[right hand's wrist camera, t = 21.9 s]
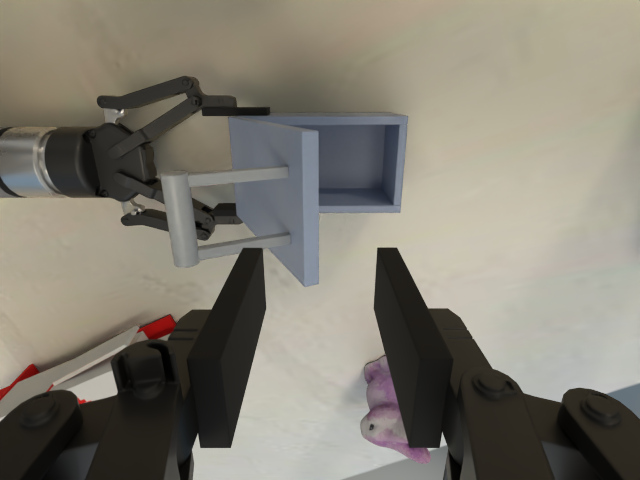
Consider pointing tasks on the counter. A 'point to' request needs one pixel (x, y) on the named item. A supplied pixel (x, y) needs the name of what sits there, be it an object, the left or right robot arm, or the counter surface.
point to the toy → (82, 370)
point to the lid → (257, 197)
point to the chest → (355, 158)
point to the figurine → (386, 414)
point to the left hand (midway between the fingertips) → (270, 162)
